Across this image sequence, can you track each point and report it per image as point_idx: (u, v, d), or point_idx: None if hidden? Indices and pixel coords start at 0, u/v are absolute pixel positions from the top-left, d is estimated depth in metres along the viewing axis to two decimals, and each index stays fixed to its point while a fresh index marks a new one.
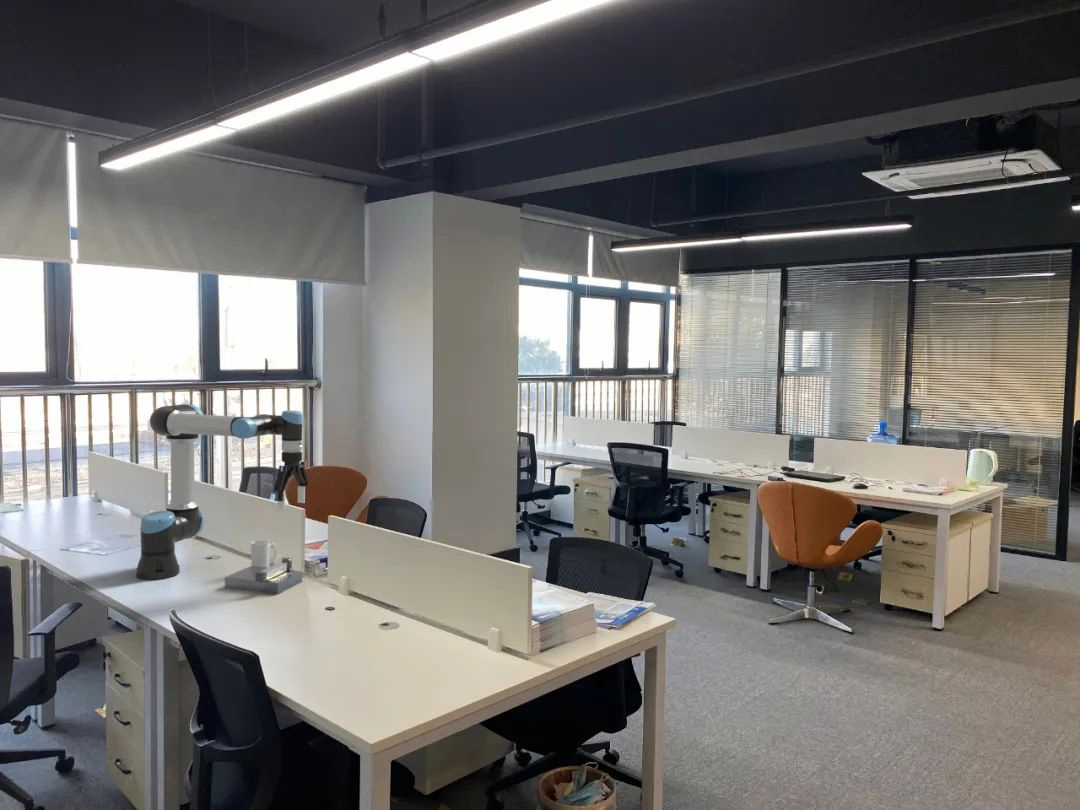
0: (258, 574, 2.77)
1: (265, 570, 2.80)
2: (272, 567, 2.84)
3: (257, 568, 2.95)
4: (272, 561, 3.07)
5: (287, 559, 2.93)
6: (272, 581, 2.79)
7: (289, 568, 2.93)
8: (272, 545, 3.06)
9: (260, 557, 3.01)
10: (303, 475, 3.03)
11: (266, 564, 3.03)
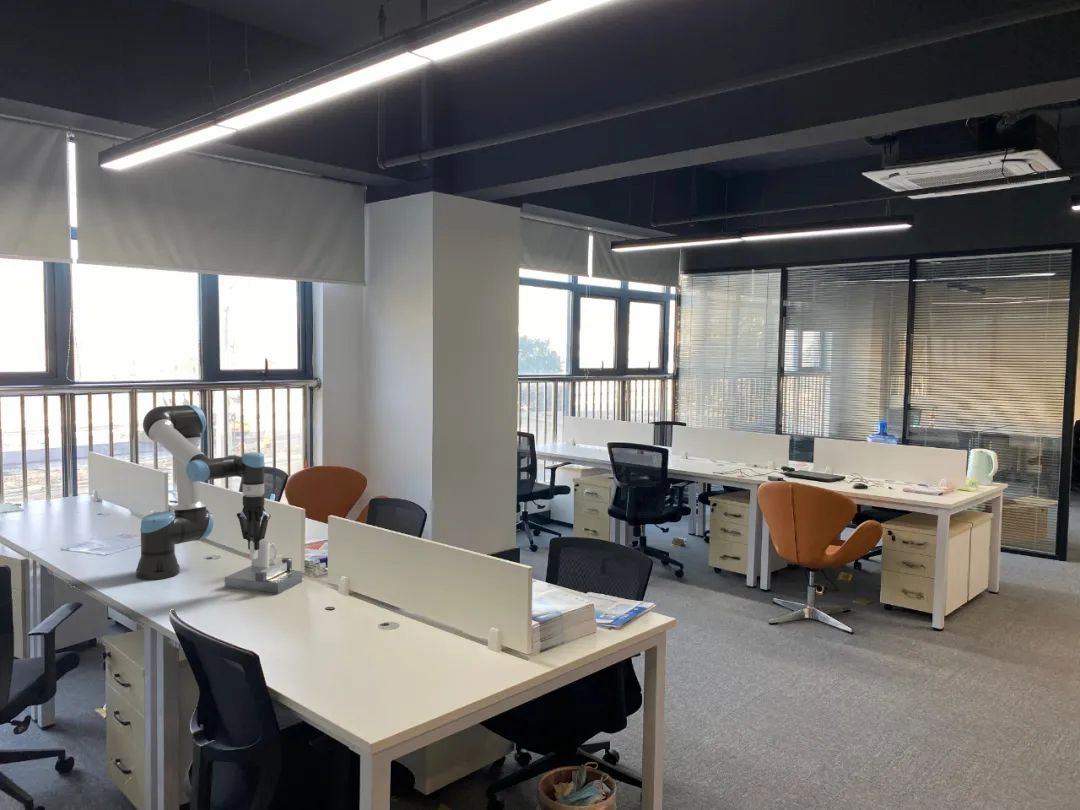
0: (258, 574, 2.77)
1: (265, 570, 2.80)
2: (272, 567, 2.84)
3: (257, 568, 2.95)
4: (272, 561, 3.07)
5: (287, 559, 2.93)
6: (272, 581, 2.79)
7: (289, 568, 2.93)
8: (272, 545, 3.06)
9: (260, 557, 3.01)
10: None
11: (266, 564, 3.03)
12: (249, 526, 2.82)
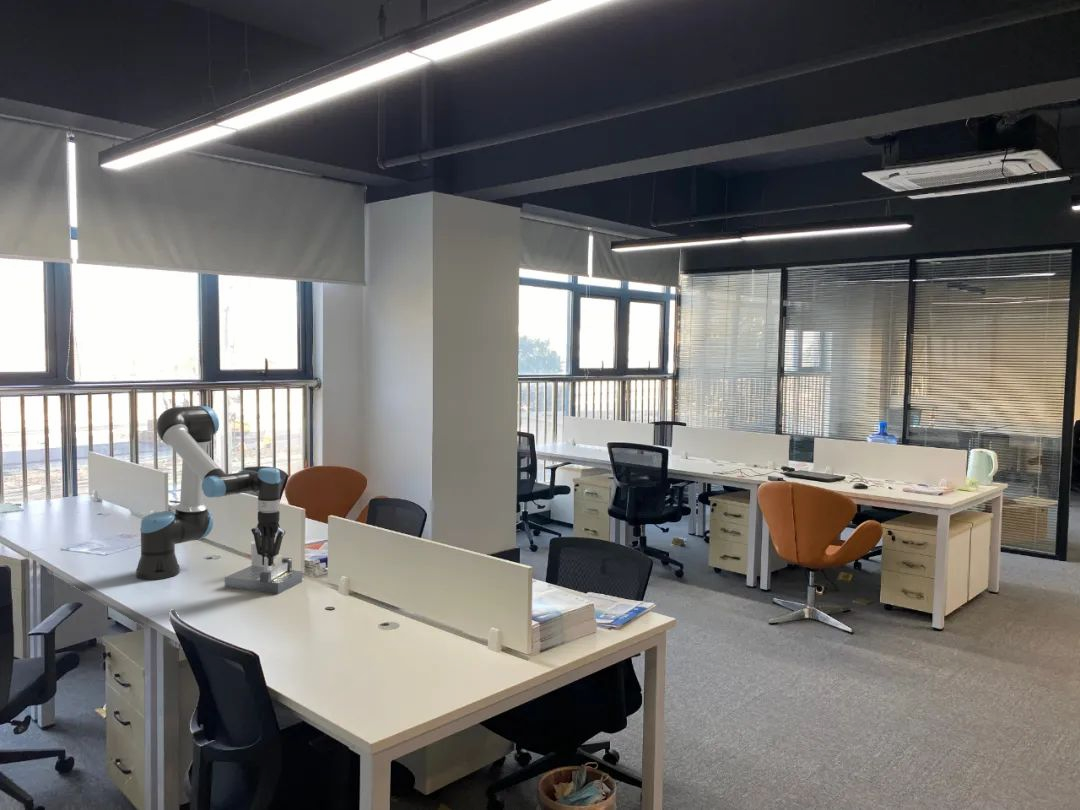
0: (263, 574, 2.76)
1: (269, 570, 2.80)
2: (274, 567, 2.84)
3: (257, 568, 2.95)
4: None
5: (287, 559, 2.93)
6: (272, 581, 2.79)
7: (289, 568, 2.93)
8: None
9: (260, 557, 3.01)
10: None
11: None
12: (264, 542, 2.81)
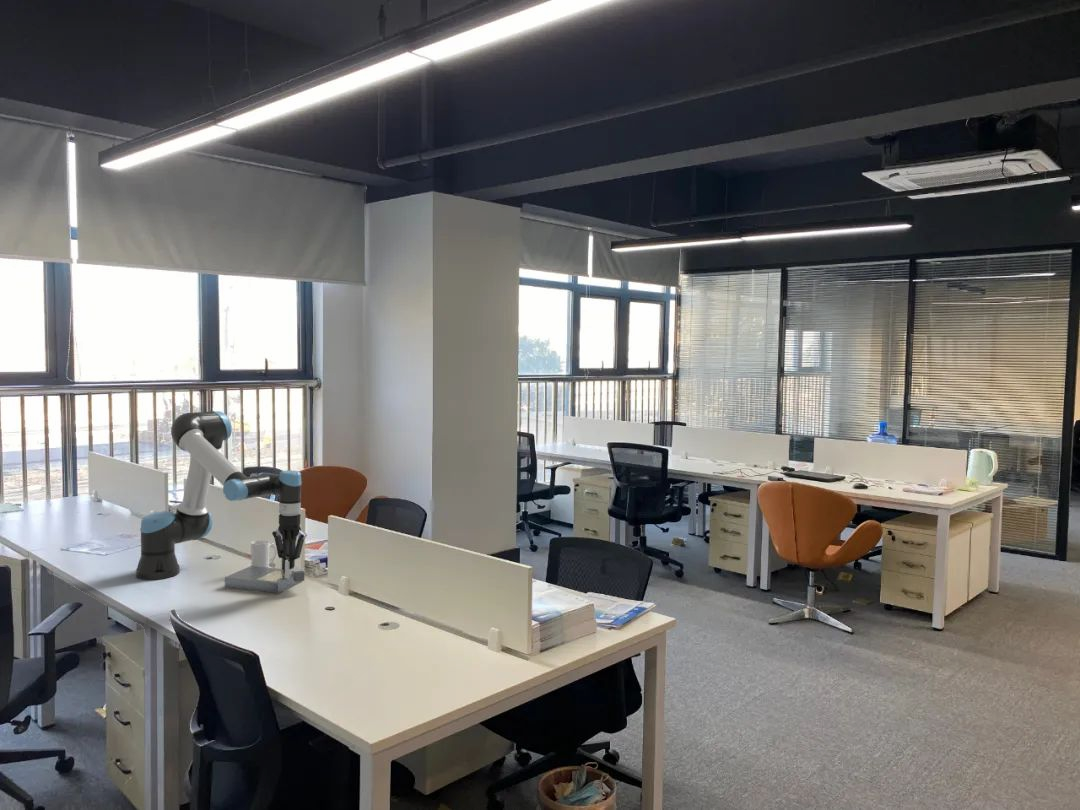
0: (298, 574, 2.79)
1: (296, 570, 2.82)
2: None
3: (257, 568, 2.95)
4: (272, 561, 3.07)
5: None
6: (272, 581, 2.79)
7: None
8: (272, 545, 3.06)
9: (260, 557, 3.01)
10: None
11: (266, 564, 3.03)
12: (285, 545, 2.80)
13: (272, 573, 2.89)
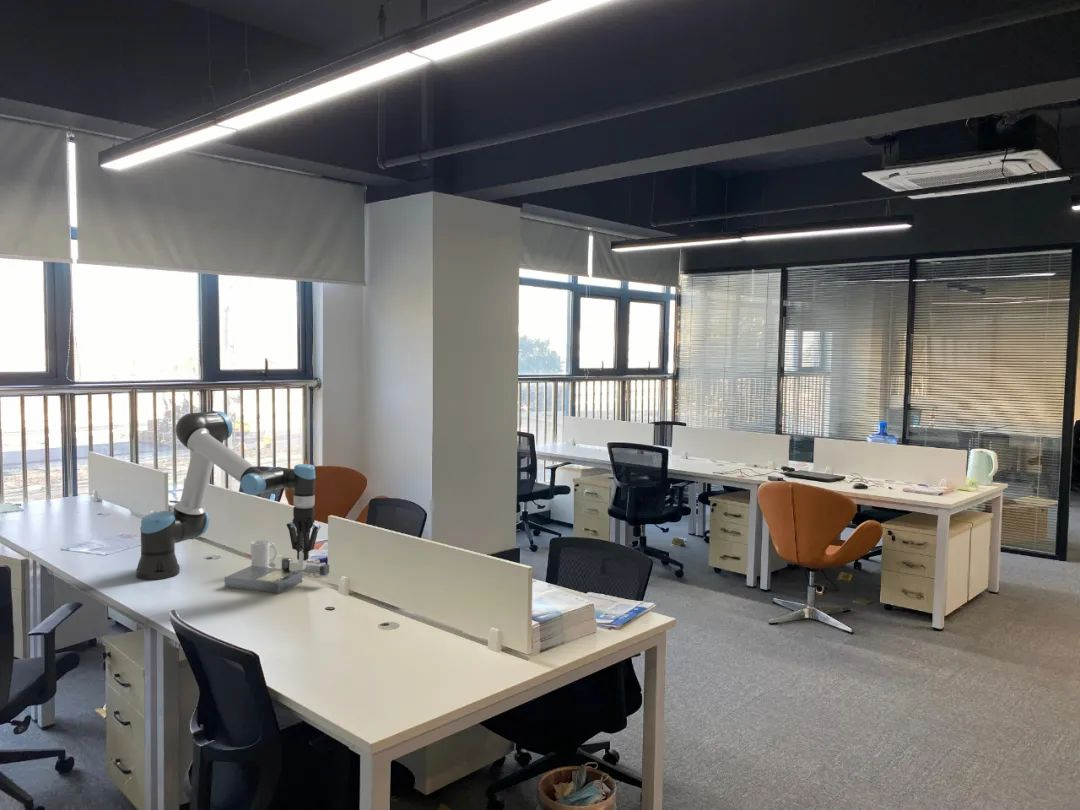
0: (326, 567, 2.88)
1: (317, 565, 2.89)
2: (308, 563, 2.91)
3: (257, 568, 2.95)
4: (272, 561, 3.07)
5: (288, 559, 2.94)
6: (272, 581, 2.79)
7: None
8: (272, 545, 3.06)
9: (260, 557, 3.01)
10: None
11: (266, 564, 3.03)
12: (299, 537, 2.87)
13: (272, 573, 2.89)
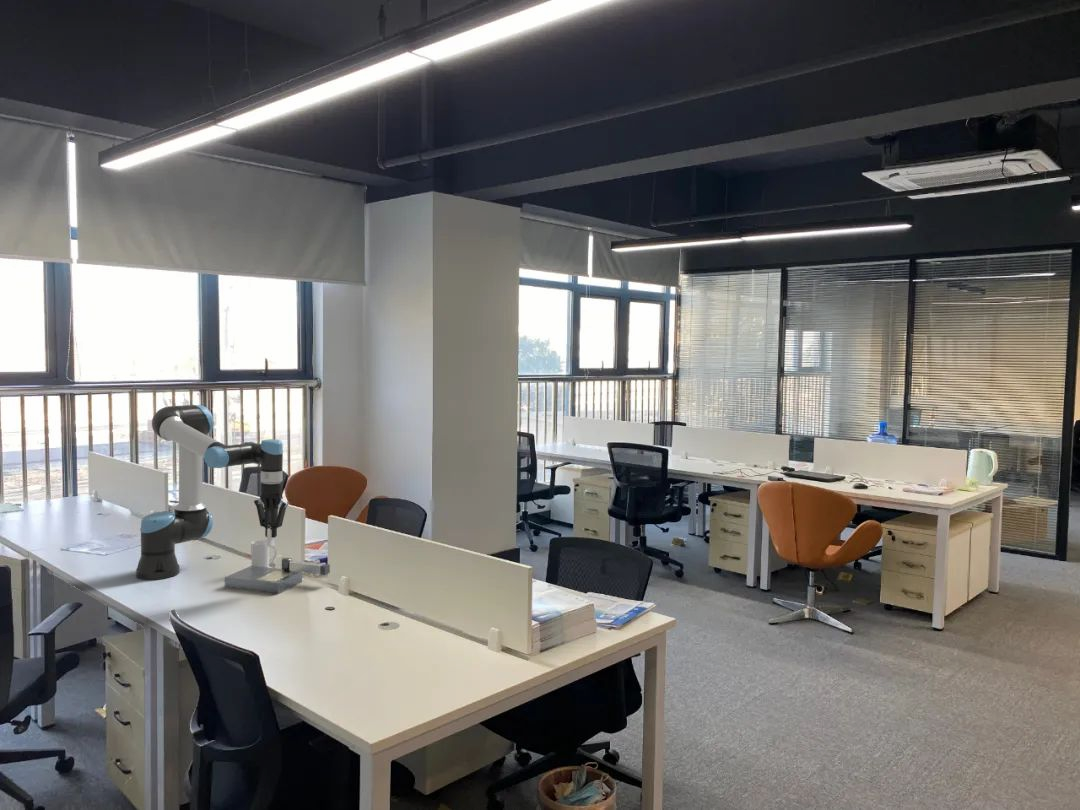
0: (326, 567, 2.88)
1: (317, 564, 2.90)
2: (308, 563, 2.91)
3: (257, 568, 2.95)
4: (272, 561, 3.07)
5: (288, 558, 2.94)
6: (272, 581, 2.79)
7: None
8: None
9: (260, 557, 3.01)
10: None
11: (266, 564, 3.03)
12: (267, 513, 2.81)
13: (272, 573, 2.89)
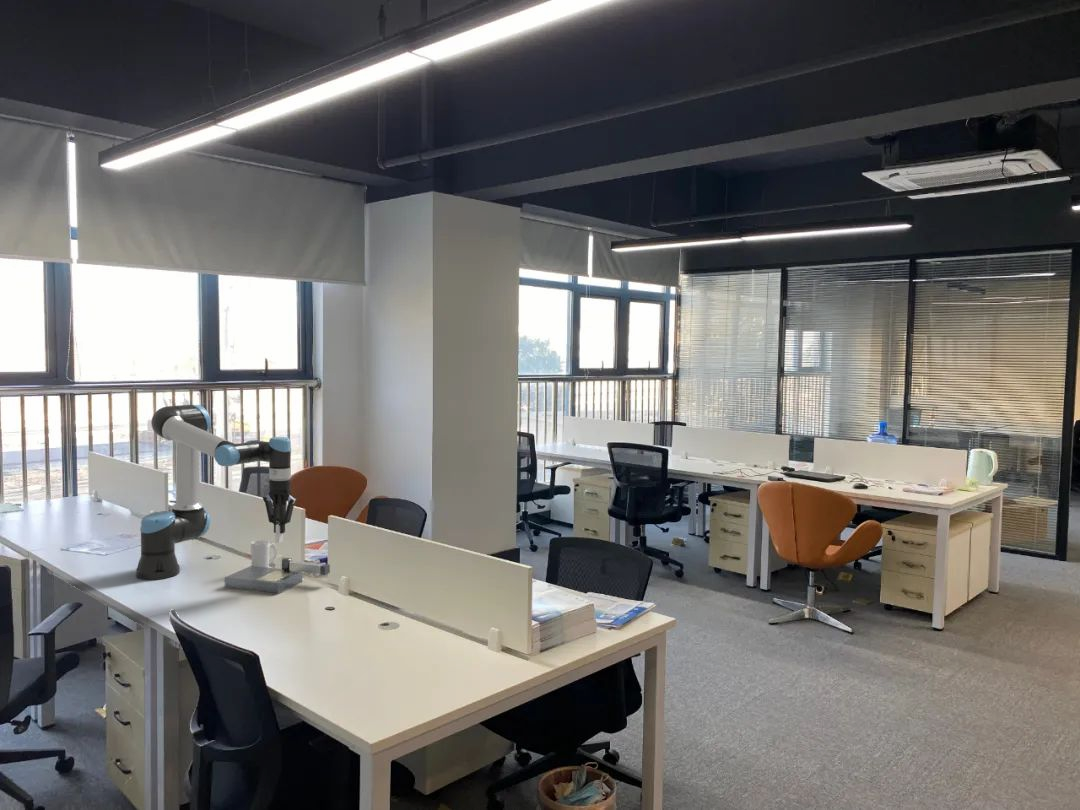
0: (326, 567, 2.88)
1: (317, 564, 2.90)
2: (308, 563, 2.91)
3: (257, 568, 2.95)
4: (272, 561, 3.07)
5: (288, 558, 2.94)
6: (272, 581, 2.79)
7: None
8: (272, 545, 3.06)
9: (260, 557, 3.01)
10: None
11: (266, 564, 3.03)
12: (275, 510, 2.86)
13: (272, 573, 2.89)
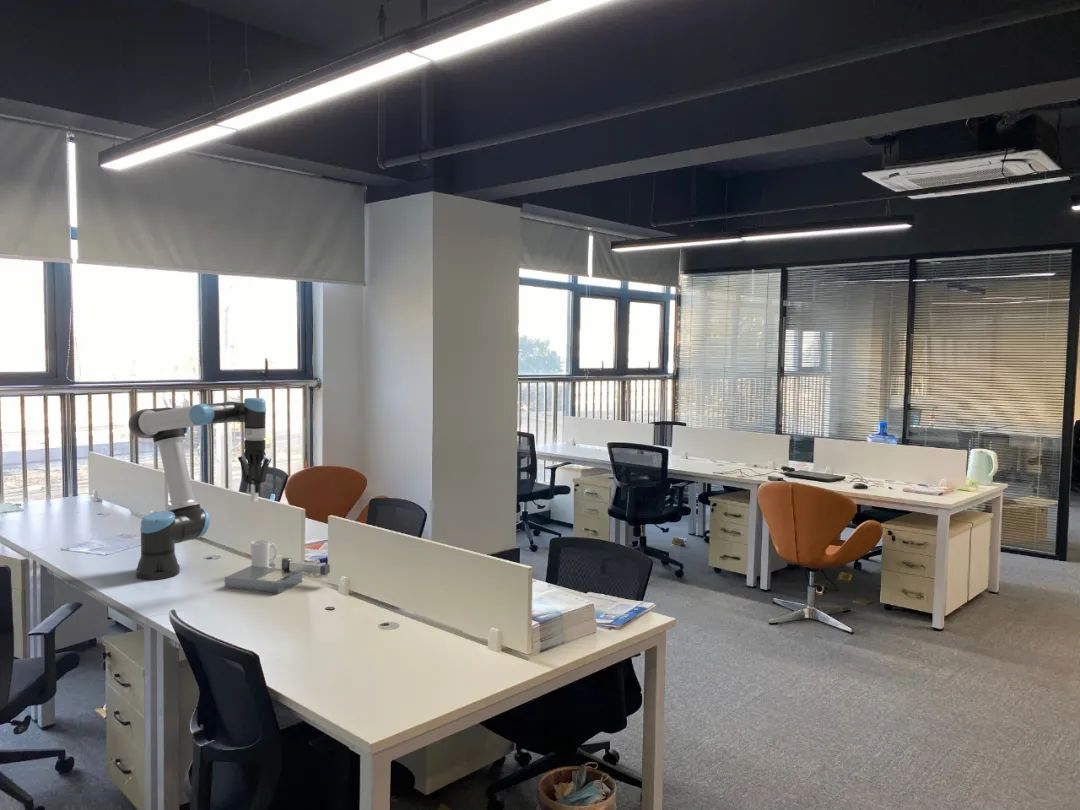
0: (326, 567, 2.88)
1: (317, 564, 2.90)
2: (308, 563, 2.91)
3: (257, 568, 2.95)
4: (272, 561, 3.07)
5: (288, 558, 2.94)
6: (272, 581, 2.79)
7: None
8: (272, 545, 3.06)
9: (260, 557, 3.01)
10: None
11: (266, 564, 3.03)
12: (250, 469, 2.90)
13: (272, 573, 2.89)
